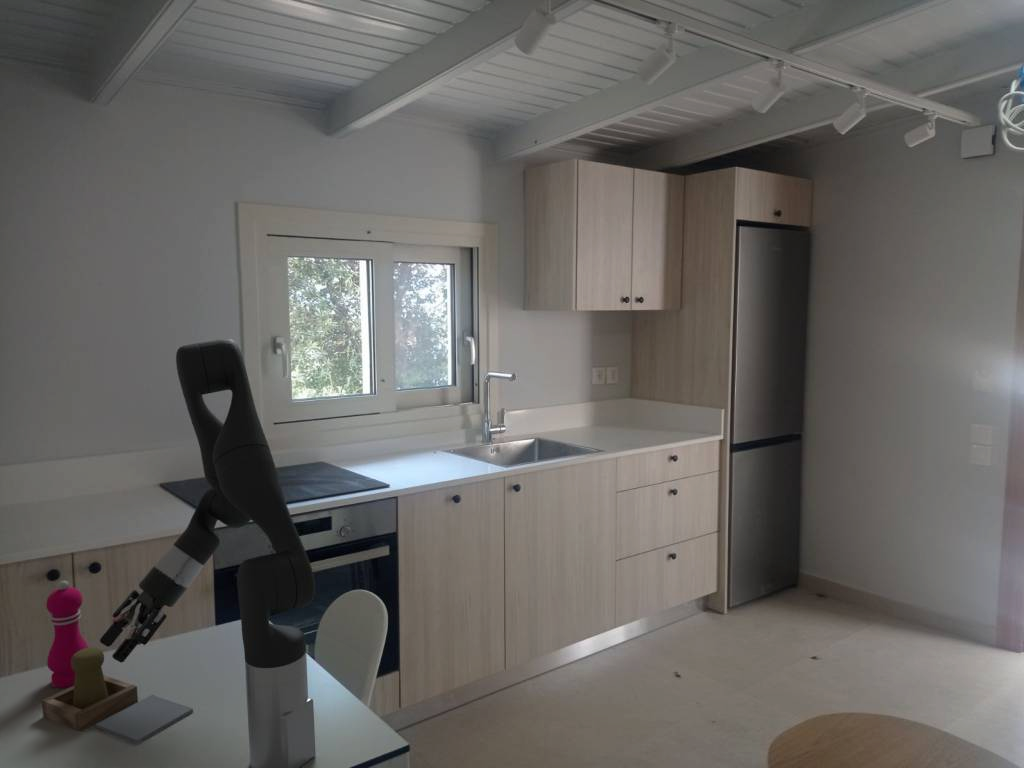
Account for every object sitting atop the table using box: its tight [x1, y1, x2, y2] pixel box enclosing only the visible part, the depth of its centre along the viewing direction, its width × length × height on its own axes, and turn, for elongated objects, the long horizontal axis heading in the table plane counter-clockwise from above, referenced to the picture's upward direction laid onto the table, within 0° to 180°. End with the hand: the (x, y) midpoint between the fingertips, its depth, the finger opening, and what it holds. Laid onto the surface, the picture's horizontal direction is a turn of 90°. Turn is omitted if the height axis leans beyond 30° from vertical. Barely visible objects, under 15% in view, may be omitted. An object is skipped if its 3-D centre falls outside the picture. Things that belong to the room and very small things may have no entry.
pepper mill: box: [45, 580, 90, 689], centre depth 145 cm, size 7×7×20 cm
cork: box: [71, 646, 108, 710], centre depth 135 cm, size 6×6×11 cm
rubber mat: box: [95, 694, 194, 745], centre depth 132 cm, size 11×11×1 cm
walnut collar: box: [41, 674, 139, 732], centre depth 135 cm, size 11×11×3 cm
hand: (110, 652), depth 137 cm, fingers open, 8 cm apart
